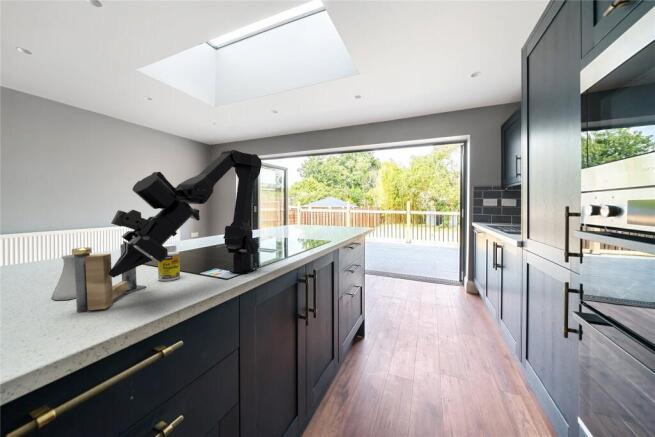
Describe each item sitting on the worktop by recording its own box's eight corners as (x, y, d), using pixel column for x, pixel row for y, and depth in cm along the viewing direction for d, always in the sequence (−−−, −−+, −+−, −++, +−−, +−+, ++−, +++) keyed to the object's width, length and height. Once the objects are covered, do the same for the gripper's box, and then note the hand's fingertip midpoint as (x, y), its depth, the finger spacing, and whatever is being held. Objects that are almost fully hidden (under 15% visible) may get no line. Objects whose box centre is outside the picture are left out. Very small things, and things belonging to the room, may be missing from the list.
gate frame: (132, 286, 70) (130, 238, 70) (155, 288, 68) (153, 239, 67) (54, 309, 55) (51, 248, 54) (81, 313, 52) (77, 250, 52)
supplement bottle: (160, 282, 73) (159, 247, 73) (156, 278, 77) (155, 245, 77) (182, 279, 77) (181, 245, 77) (177, 275, 81) (176, 243, 81)
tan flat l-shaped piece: (117, 291, 64) (115, 247, 64) (131, 290, 65) (130, 247, 65) (87, 310, 53) (85, 256, 52) (105, 308, 54) (102, 256, 53)
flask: (67, 302, 59) (64, 258, 58) (43, 300, 60) (40, 257, 60) (100, 291, 66) (99, 253, 65) (78, 290, 67) (76, 252, 67)
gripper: (130, 198, 64) (71, 247, 57) (146, 196, 51) (71, 260, 44) (168, 227, 70) (118, 275, 63) (191, 232, 57) (131, 293, 50)
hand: (110, 275), depth 55 cm, fingers closed
